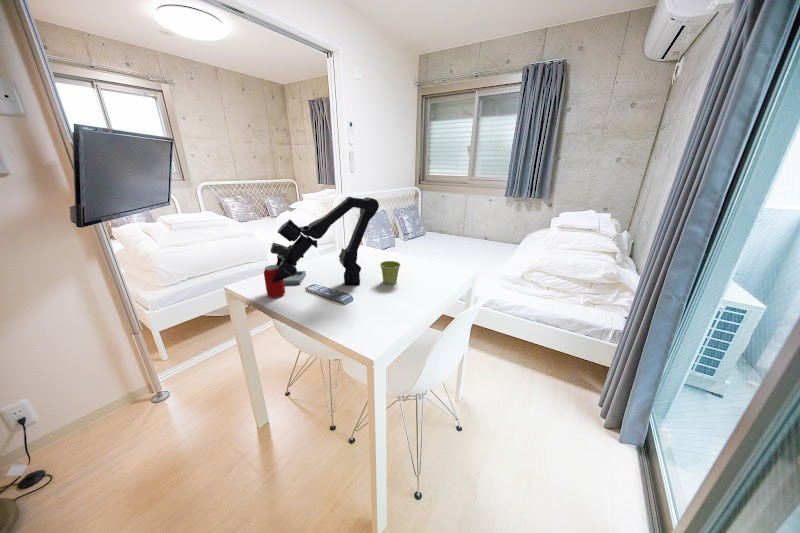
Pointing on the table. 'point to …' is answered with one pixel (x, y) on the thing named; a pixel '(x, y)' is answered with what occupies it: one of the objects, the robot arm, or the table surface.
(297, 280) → the slate tray
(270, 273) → the beverage can
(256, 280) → the table surface
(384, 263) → the plant pot
